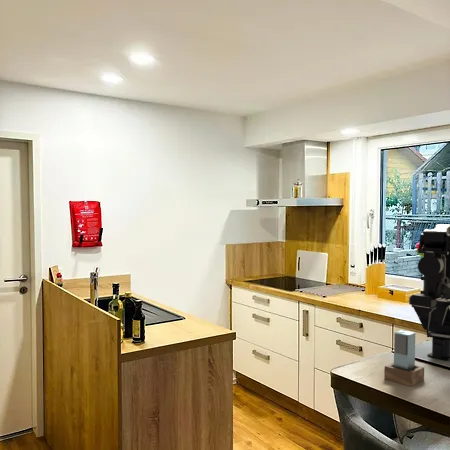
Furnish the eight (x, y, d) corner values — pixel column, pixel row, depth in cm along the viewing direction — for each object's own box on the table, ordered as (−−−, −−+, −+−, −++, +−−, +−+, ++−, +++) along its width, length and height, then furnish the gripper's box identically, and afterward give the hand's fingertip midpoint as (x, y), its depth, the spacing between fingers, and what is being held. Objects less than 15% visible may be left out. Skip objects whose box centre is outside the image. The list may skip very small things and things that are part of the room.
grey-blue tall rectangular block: (400, 375, 131) (401, 329, 131) (414, 379, 128) (415, 332, 128) (392, 379, 128) (393, 332, 128) (406, 383, 125) (407, 335, 125)
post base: (397, 372, 133) (398, 360, 133) (424, 379, 128) (424, 367, 128) (384, 378, 128) (384, 366, 128) (410, 386, 123) (411, 373, 123)
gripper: (449, 279, 121) (448, 338, 122) (476, 273, 134) (475, 327, 134) (408, 274, 130) (407, 330, 130) (437, 270, 142) (436, 321, 142)
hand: (433, 327), depth 134 cm, fingers open, 9 cm apart
